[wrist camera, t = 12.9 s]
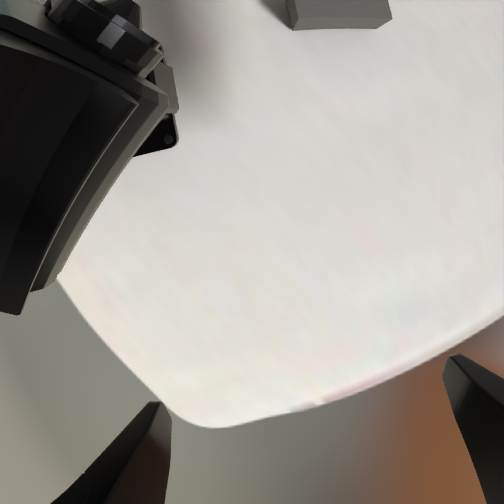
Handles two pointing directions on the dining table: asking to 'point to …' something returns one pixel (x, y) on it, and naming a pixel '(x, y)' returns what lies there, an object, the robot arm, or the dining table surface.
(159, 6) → the dining table surface
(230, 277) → the dining table surface
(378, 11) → the pair of grey blocks
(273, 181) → the dining table surface
